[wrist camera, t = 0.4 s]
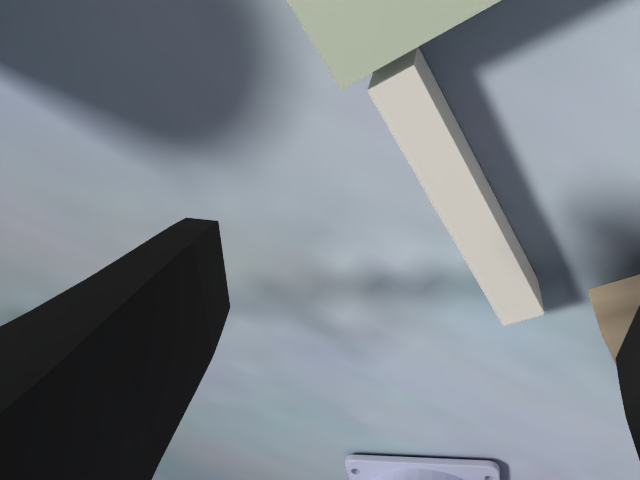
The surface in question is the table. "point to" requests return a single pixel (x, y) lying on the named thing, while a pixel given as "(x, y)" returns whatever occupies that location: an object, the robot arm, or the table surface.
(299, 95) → the table surface
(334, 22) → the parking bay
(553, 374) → the table surface
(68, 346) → the robot arm
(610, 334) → the tan block
